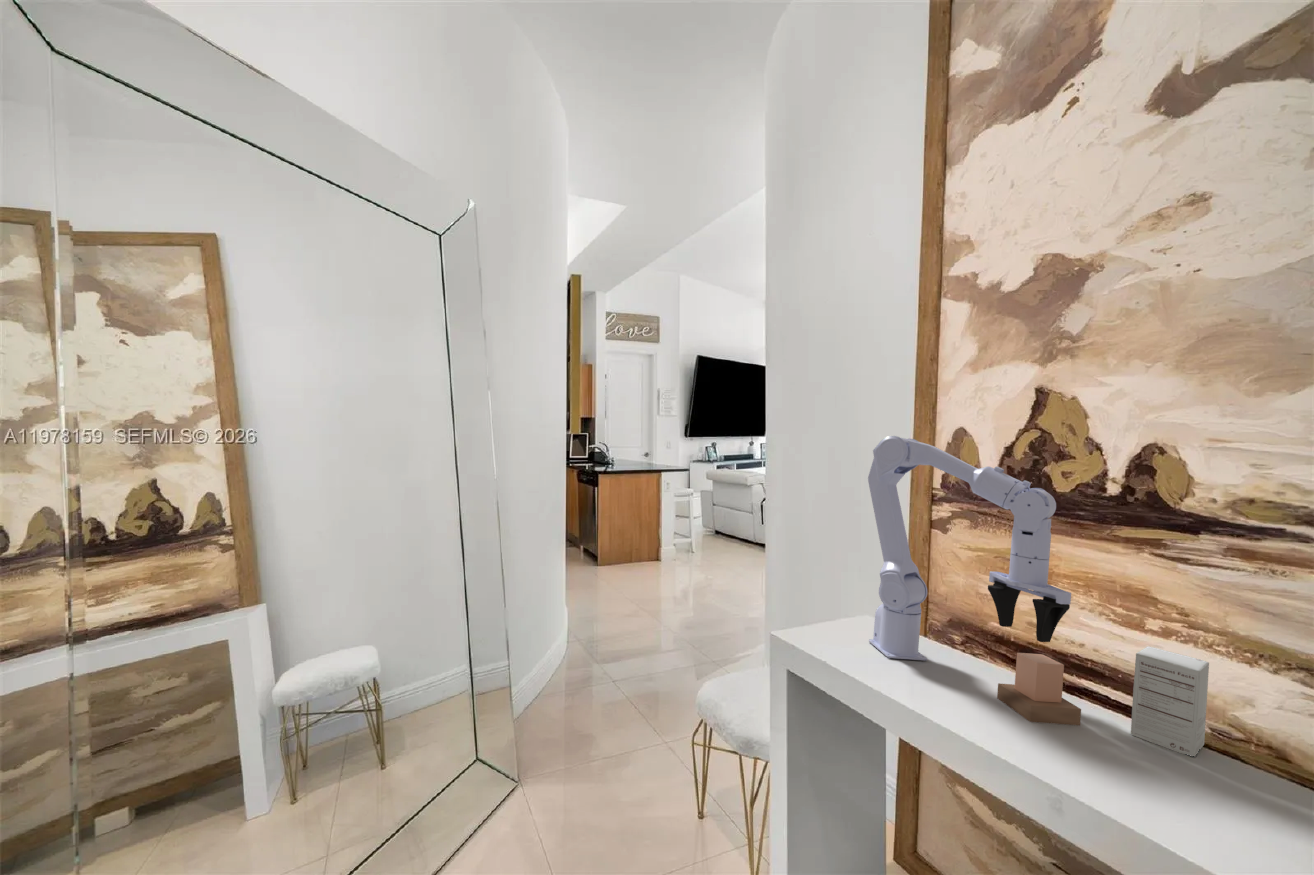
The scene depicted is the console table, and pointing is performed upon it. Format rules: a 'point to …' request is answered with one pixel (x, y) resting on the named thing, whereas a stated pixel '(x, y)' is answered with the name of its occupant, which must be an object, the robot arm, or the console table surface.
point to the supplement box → (1170, 700)
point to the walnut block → (1039, 707)
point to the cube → (1039, 677)
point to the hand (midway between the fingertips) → (1023, 633)
